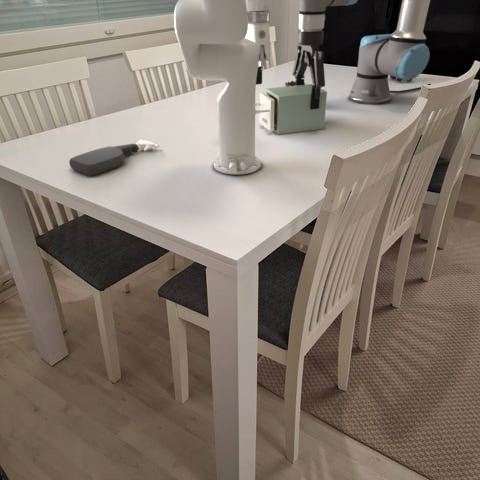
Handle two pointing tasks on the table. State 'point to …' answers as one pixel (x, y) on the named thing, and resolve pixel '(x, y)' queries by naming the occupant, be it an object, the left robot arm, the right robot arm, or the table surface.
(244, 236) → the table surface
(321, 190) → the table surface
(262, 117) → the drawer
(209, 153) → the table surface
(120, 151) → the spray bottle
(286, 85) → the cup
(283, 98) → the mint green storage box
